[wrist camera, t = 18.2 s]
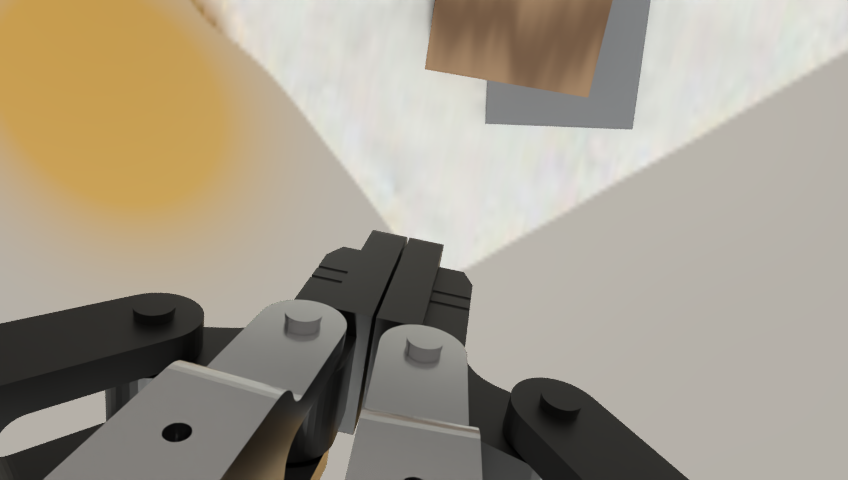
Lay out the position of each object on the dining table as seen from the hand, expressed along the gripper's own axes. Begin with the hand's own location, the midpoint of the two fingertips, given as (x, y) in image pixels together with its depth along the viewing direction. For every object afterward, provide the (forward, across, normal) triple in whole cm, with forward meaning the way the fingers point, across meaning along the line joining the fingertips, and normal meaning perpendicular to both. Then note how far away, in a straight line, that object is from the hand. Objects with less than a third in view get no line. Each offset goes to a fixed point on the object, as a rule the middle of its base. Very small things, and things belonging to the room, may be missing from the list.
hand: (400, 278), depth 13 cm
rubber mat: (+28, -5, -4) cm, 28 cm away
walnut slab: (+26, -7, -5) cm, 27 cm away
